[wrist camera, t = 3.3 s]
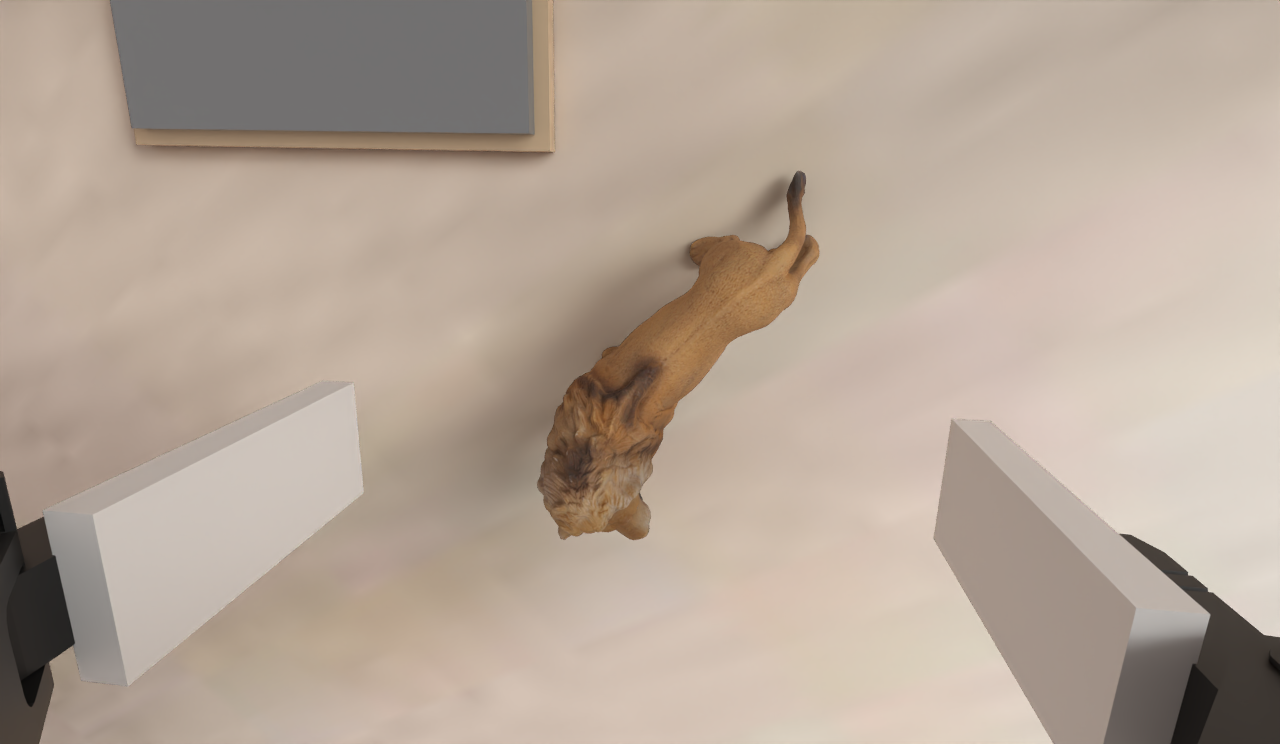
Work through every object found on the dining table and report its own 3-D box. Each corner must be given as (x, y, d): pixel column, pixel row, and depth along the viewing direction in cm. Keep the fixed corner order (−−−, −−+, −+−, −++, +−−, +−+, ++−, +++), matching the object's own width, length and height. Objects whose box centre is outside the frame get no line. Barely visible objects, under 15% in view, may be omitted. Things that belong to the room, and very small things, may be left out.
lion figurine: (651, 483, 25) (617, 597, 18) (554, 419, 25) (483, 509, 18) (853, 207, 22) (907, 219, 15) (741, 131, 22) (743, 106, 15)
